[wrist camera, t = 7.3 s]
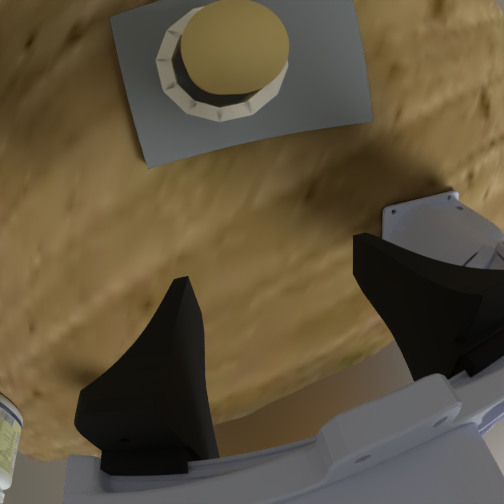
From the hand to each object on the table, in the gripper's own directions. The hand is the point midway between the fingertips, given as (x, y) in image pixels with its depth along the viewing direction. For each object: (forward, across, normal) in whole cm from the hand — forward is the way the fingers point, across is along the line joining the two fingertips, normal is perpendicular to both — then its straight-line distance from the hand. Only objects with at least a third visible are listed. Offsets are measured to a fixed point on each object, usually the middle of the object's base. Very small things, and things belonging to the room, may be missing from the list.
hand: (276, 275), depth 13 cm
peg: (+9, 0, -9) cm, 13 cm away
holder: (+10, -2, -9) cm, 14 cm away
